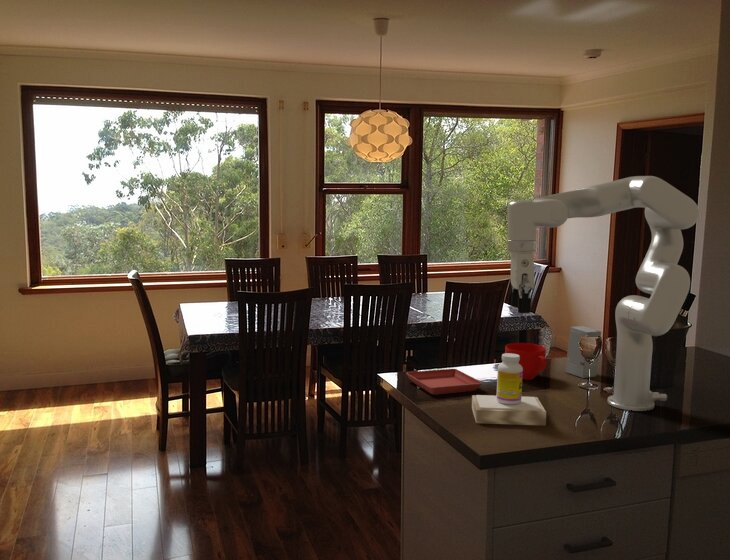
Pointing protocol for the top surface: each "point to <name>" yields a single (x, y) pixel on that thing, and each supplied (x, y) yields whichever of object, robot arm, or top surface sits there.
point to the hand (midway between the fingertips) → (520, 309)
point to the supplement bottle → (509, 380)
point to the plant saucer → (444, 381)
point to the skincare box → (574, 358)
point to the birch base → (508, 411)
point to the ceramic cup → (529, 358)
